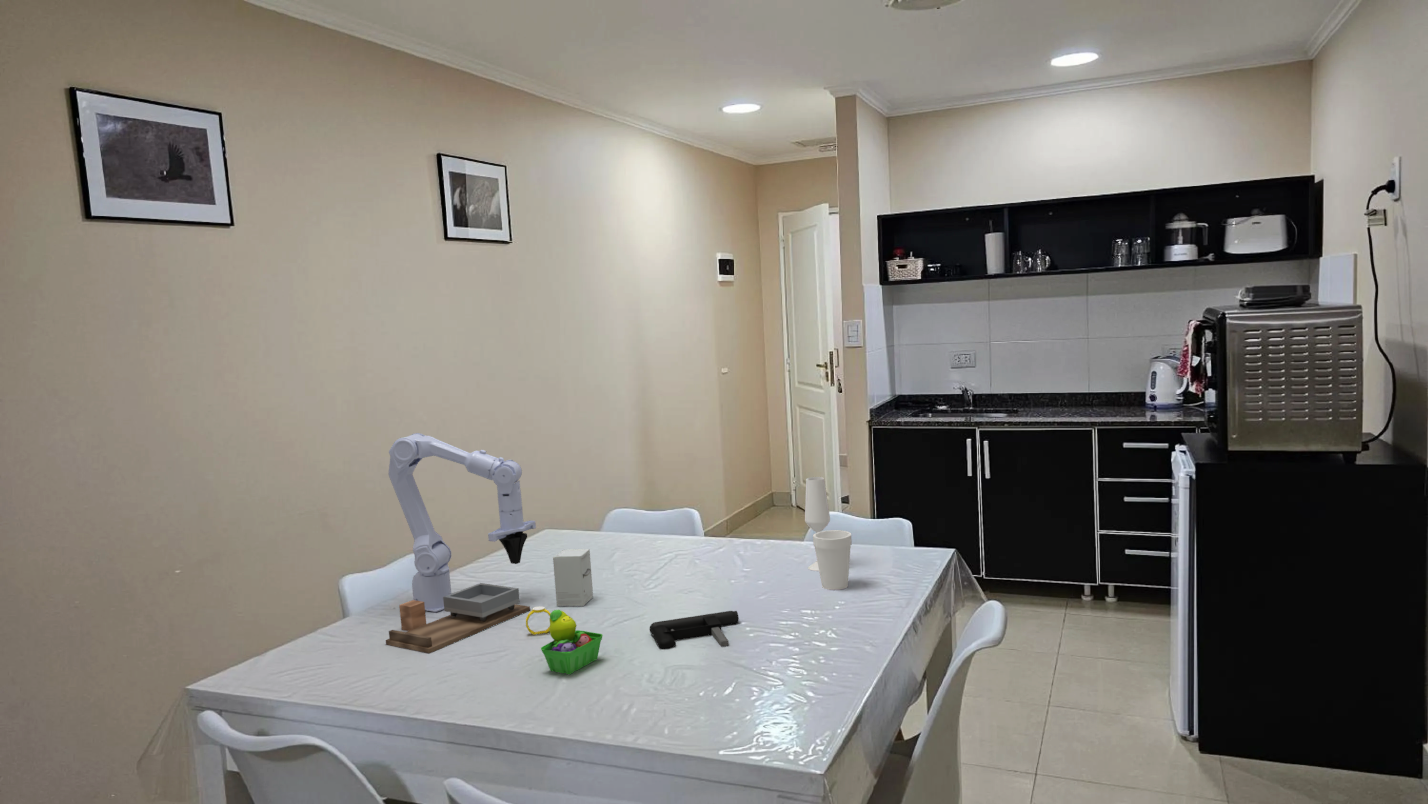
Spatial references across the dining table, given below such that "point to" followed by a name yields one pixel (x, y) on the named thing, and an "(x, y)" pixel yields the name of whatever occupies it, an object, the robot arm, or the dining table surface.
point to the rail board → (448, 630)
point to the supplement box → (573, 577)
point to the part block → (412, 615)
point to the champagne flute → (816, 508)
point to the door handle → (692, 628)
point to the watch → (537, 610)
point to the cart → (481, 600)
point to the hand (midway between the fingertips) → (515, 562)
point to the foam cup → (833, 558)
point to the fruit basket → (569, 645)
